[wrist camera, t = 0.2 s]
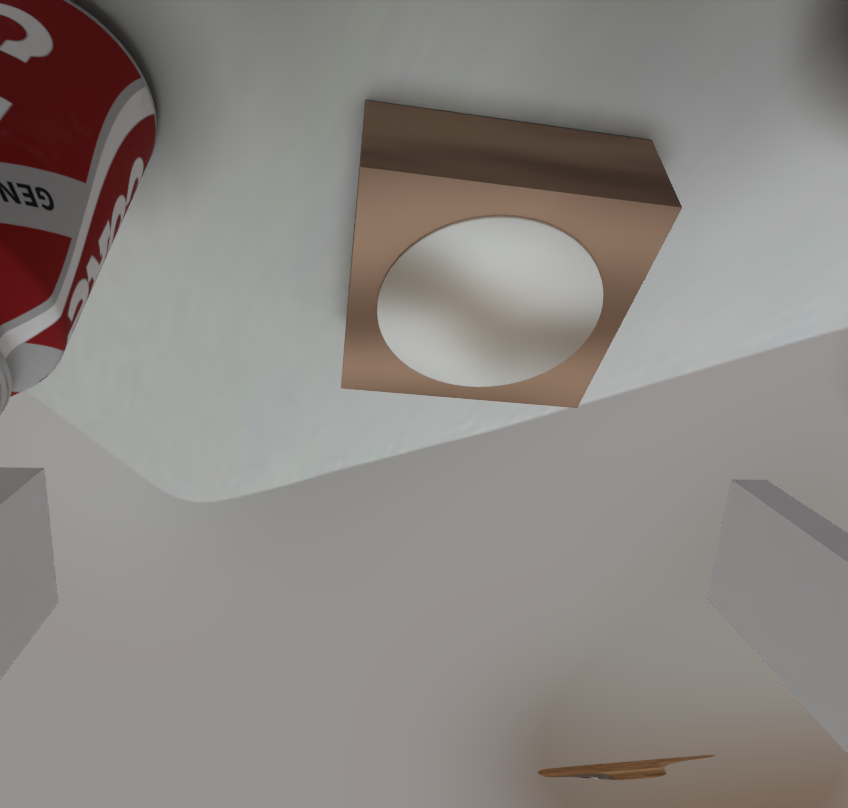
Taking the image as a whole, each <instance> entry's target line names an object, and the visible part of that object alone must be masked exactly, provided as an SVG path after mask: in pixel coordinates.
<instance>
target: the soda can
mask: <svg viewBox="0 0 848 808" xmlns="http://www.w3.org/2000/svg"><path fill="white" fill-rule="evenodd" d="M156 135H157V119H156V111H155V106H154V102H153V99H152V95H151V92H150V90H149V87H148V85H147V82H146V80H145V78H144V76H143V74H142V72H141V71H140V69H139V67H138V66H137V64H136V62H135V61H134V59H133V58H132V57H131V55H130V54H129V52H128V51H127V50H126V49H125V47H124V46H123V45H122V44H121V42H120V41H119V40H118V39H117V38H116V37H115V36H114V35H113V34H112V33H111V32H110V31H109V30H108V29H107V28H106V27H105V26H104V25H103V24H102V23H101V22H100V21H98V20H97V19H96V18H95V17H93V16H92V15H91V14H90V13H88V12H87V11H85V10H84V9H83V8H81V7H80V6H78V5H77V4H75V3H73V2H72V1H70V0H0V414H1V413H2V412H3V410H4V409H5V407H6V405H7V403H8V401H9V398H10V397H11V396H13V395H15V394H17V393H20V392H22V391H24V390H27V389H29V388H31V387H33V386H34V385H36V384H38V383H39V382H41V381H42V380H43V379H45V378H46V377H47V376H48V375H49V374H50V373H51V372H52V371H53V370H54V369H55V367H56V366H57V364H58V363H59V361H60V360H61V358H62V355H63V353H64V351H65V349H66V346H67V344H68V342H69V340H70V337H71V335H72V333H73V331H74V328H75V326H76V324H77V322H78V319H79V317H80V315H81V313H82V310H83V308H84V306H85V304H86V301H87V299H88V297H89V295H90V292H91V290H92V288H93V286H94V283H95V281H96V279H97V277H98V274H99V272H100V270H101V268H102V265H103V263H104V261H105V259H106V256H107V254H108V252H109V250H110V247H111V245H112V243H113V241H114V238H115V236H116V234H117V232H118V229H119V227H120V225H121V223H122V220H123V218H124V216H125V214H126V211H127V209H128V207H129V205H130V202H131V200H132V198H133V196H134V193H135V191H136V189H137V187H138V184H139V182H140V180H141V178H142V175H143V173H144V171H145V168H146V166H147V164H148V162H149V159H150V157H151V155H152V153H153V150H154V146H155V142H156Z"/></svg>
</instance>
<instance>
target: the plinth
mask: <svg viewBox="0 0 848 808" xmlns="http://www.w3.org/2000/svg"><path fill="white" fill-rule="evenodd" d="M681 209H682V207H681V204H680V202H679V200H678V198H677V195H676V193H675V191H674V189H673V187H672V184H671V182H670V180H669V178H668V175H667V173H666V171H665V169H664V167H663V164H662V162H661V160H660V158H659V155H658V153H657V151H656V149H655V146H654V144H653V142H652V140H646V139H639V138H632V137H625V136H618V135H610V134H603V133H596V132H589V131H582V130H575V129H567V128H560V127H553V126H546V125H539V124H532V123H525V122H517V121H510V120H503V119H496V118H489V117H482V116H475V115H467V114H460V113H453V112H446V111H439V110H432V109H424V108H417V107H410V106H403V105H396V104H389V103H382V102H374V101H367V100H365V110H364V121H363V133H362V145H361V156H360V168H359V179H358V191H357V203H356V214H355V226H354V237H353V249H352V261H351V272H350V284H349V296H348V307H347V319H346V331H345V344H344V357H343V370H342V383H341V388H344V389H356V390H368V391H380V392H392V393H404V394H416V395H428V396H440V397H452V398H464V399H476V400H488V401H500V402H512V403H524V404H536V405H548V406H560V407H572V408H577V407H578V405H579V403H580V401H581V399H582V397H583V396H584V394H585V392H586V390H587V388H588V386H589V384H590V382H591V380H592V378H593V376H594V375H595V373H596V371H597V369H598V367H599V365H600V363H601V361H602V359H603V357H604V355H605V354H606V352H607V350H608V348H609V346H610V344H611V342H612V340H613V338H614V336H615V334H616V333H617V331H618V329H619V327H620V325H621V323H622V321H623V319H624V317H625V315H626V314H627V312H628V310H629V308H630V306H631V304H632V302H633V300H634V298H635V296H636V294H637V293H638V291H639V289H640V287H641V285H642V283H643V281H644V279H645V277H646V275H647V273H648V272H649V270H650V268H651V266H652V264H653V262H654V260H655V258H656V256H657V254H658V252H659V251H660V249H661V247H662V245H663V243H664V241H665V239H666V237H667V235H668V233H669V231H670V230H671V228H672V226H673V224H674V222H675V220H676V218H677V216H678V214H679V212H680V211H681Z"/></svg>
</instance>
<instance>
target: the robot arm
mask: <svg viewBox="0 0 848 808" xmlns="http://www.w3.org/2000/svg"><path fill="white" fill-rule="evenodd" d="M707 600H708V601H709V602H710V603H711V604H712V605H713V606H714V607H715V609H716V610H717V611H718V612H719V613H720V614H721V615H722V616H723V617H724V618H725V620H726V621H727V622H728V623H729V624H730V625H731V626H732V627H733V628H734V629H735V630H736V632H737V633H738V634H739V635H740V636H741V637H742V638H743V639H744V640H745V641H746V643H747V644H748V645H749V646H750V647H751V648H752V649H753V650H754V651H755V652H756V654H757V655H758V656H759V657H760V658H761V659H762V660H763V661H764V662H765V663H766V665H767V666H768V667H769V668H770V669H771V670H772V671H773V672H774V673H775V674H776V676H777V677H778V678H779V679H780V680H781V681H782V682H783V683H784V684H785V685H786V686H787V688H788V689H789V690H790V691H791V692H792V693H793V694H794V695H795V696H796V697H797V699H798V700H799V701H800V702H801V703H802V704H803V705H804V706H805V707H806V708H807V709H808V711H809V712H810V713H811V714H812V715H813V716H814V717H815V718H816V719H817V721H818V722H819V723H820V724H821V725H822V726H823V727H824V728H825V729H826V730H827V732H829V734H830V735H831V736H832V737H833V738H834V739H835V740H836V741H837V742H838V744H839V745H840V746H841V747H842V748H843V749H844V750H845V751H846V752H847V753H848V533H847V532H846V531H844V530H842V529H841V528H839V527H838V526H836V525H834V524H833V523H832V522H830V521H829V520H827V519H826V518H824V517H822V516H821V515H819V514H818V513H816V512H815V511H813V510H812V509H810V508H809V507H807V506H806V505H804V504H803V503H801V502H799V501H798V500H796V499H795V498H793V497H792V496H790V495H789V494H787V493H786V492H784V491H783V490H781V489H780V488H778V487H776V486H774V485H773V484H772V483H770V482H769V481H767V480H737V479H731V482H730V487H729V492H728V497H727V502H726V507H725V512H724V517H723V522H722V527H721V532H720V538H719V543H718V548H717V554H716V558H715V563H714V568H713V573H712V578H711V583H710V588H709V594H708V598H707ZM57 604H58V595H57V586H56V576H55V566H54V557H53V547H52V537H51V528H50V518H49V508H48V499H47V489H46V479H45V470H44V468H4V467H3V468H1V467H0V680H1V678H2V677H3V676H4V674H5V673H6V672H7V670H8V669H9V668H10V666H11V665H12V664H13V662H14V661H15V660H16V658H17V657H18V656H19V654H20V653H21V652H22V651H23V649H24V648H25V646H26V645H27V644H28V642H29V641H30V640H31V638H32V637H33V636H34V635H35V633H36V632H37V631H38V629H39V628H40V627H41V625H42V624H43V623H44V621H45V620H46V619H47V617H48V616H49V615H50V613H51V612H52V611H53V609H54V608H55V607H56V605H57Z"/></svg>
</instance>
